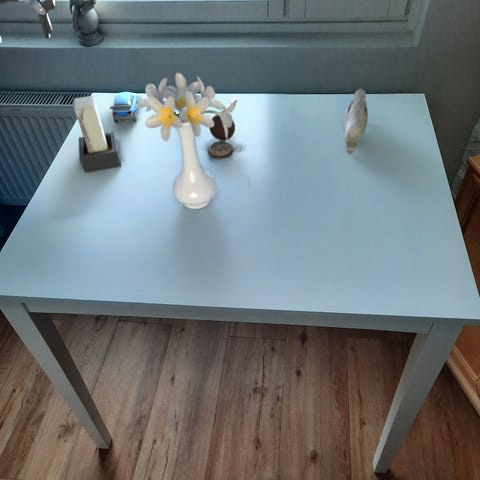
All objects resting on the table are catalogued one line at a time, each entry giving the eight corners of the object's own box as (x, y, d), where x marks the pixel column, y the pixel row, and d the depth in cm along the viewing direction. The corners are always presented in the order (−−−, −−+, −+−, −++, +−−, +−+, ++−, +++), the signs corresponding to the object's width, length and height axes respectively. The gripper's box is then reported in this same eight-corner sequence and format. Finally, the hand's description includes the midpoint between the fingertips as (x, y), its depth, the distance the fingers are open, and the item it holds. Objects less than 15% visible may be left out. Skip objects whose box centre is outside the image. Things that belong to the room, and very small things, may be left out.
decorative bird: (337, 154, 109) (342, 124, 103) (345, 117, 118) (349, 87, 113) (361, 156, 108) (367, 126, 102) (367, 119, 118) (372, 89, 112)
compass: (205, 159, 110) (201, 130, 104) (211, 140, 115) (209, 111, 109) (239, 161, 109) (237, 132, 103) (244, 142, 114) (242, 113, 108)
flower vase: (242, 216, 97) (237, 99, 78) (154, 221, 98) (126, 105, 78) (241, 178, 105) (235, 62, 85) (159, 182, 106) (135, 68, 86)
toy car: (140, 102, 127) (136, 81, 123) (136, 126, 120) (131, 105, 116) (119, 103, 127) (113, 82, 123) (113, 128, 120) (107, 106, 116)
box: (90, 150, 113) (72, 97, 102) (108, 146, 113) (93, 94, 103) (91, 162, 109) (73, 109, 99) (110, 159, 110) (94, 106, 100)
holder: (84, 173, 109) (79, 157, 106) (83, 152, 114) (78, 137, 111) (121, 166, 110) (116, 151, 107) (118, 146, 115) (114, 131, 112)
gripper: (-71, -64, 69) (-19, 54, 81) (29, -74, 70) (64, 43, 83) (-63, -77, 73) (-15, 36, 86) (30, -86, 75) (64, 26, 88)
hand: (24, 39), depth 85 cm, fingers open, 8 cm apart
